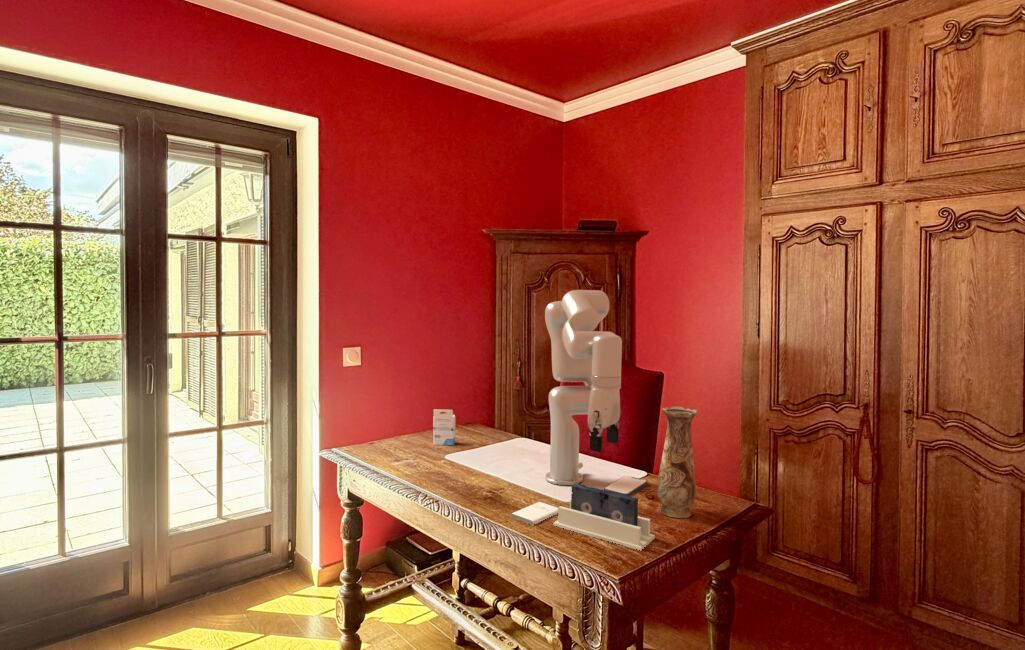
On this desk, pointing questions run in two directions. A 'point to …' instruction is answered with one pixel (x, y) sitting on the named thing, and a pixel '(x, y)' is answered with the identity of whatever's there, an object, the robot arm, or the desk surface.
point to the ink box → (443, 427)
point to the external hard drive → (535, 513)
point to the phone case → (627, 485)
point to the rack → (606, 528)
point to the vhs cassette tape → (604, 504)
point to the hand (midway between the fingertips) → (604, 446)
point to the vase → (677, 464)
